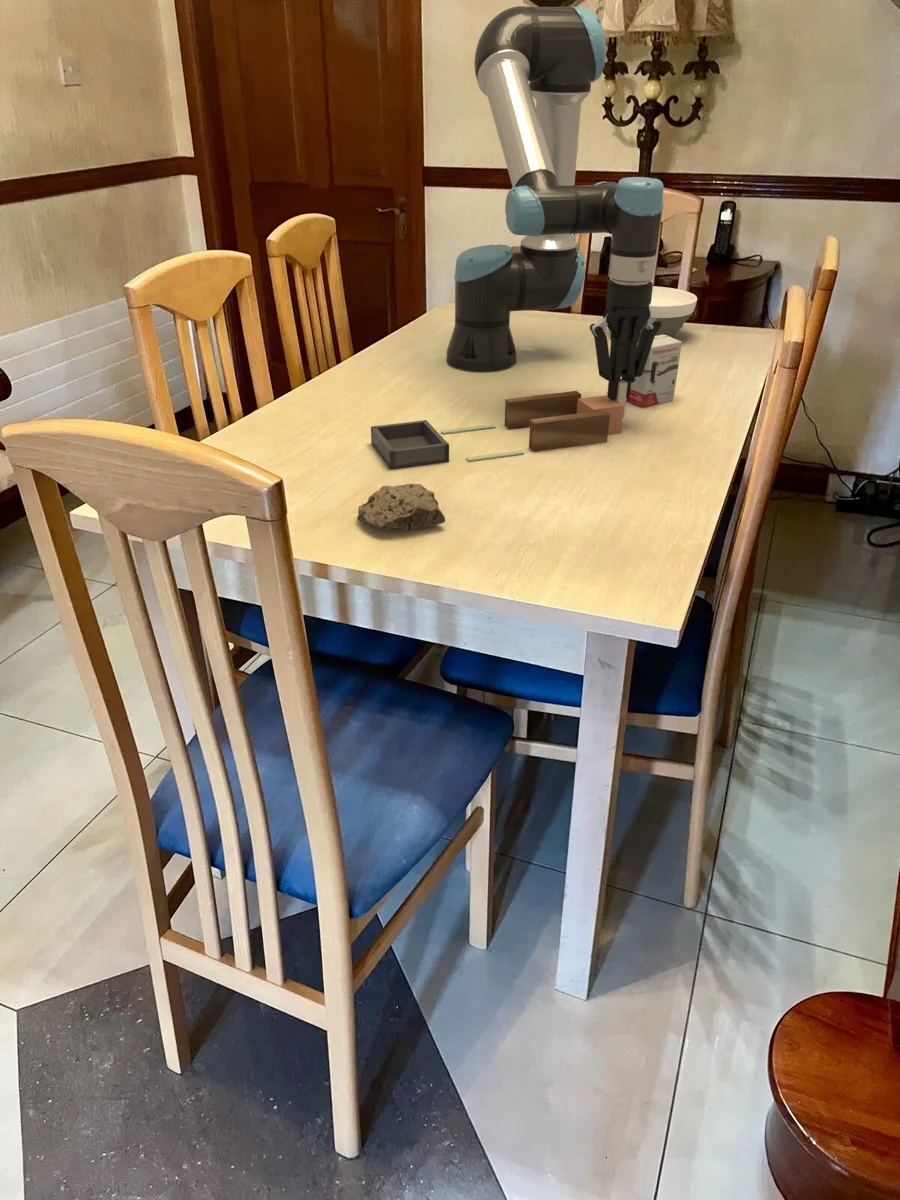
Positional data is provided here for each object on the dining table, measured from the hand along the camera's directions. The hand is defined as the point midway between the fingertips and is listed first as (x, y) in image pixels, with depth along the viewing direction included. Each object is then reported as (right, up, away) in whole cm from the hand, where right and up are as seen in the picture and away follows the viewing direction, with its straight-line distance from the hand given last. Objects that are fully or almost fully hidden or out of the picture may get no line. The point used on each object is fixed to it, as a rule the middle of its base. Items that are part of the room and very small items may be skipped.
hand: (616, 415), depth 163 cm
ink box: (+9, +5, +13) cm, 16 cm away
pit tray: (-37, -8, -10) cm, 39 cm away
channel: (-11, -4, -3) cm, 12 cm away
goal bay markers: (-25, -6, -7) cm, 26 cm away
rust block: (-3, -2, 0) cm, 4 cm away
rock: (-37, -22, -31) cm, 53 cm away
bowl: (+17, +29, +51) cm, 61 cm away
